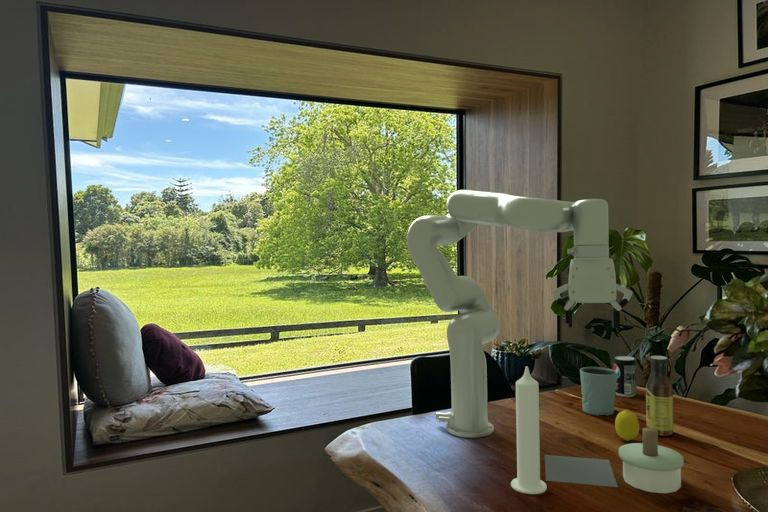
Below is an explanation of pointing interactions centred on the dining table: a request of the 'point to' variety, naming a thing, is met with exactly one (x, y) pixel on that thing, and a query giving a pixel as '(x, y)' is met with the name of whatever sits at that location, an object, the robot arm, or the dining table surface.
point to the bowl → (652, 479)
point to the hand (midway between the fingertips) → (592, 327)
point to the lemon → (627, 425)
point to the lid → (651, 454)
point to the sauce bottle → (659, 397)
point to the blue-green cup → (598, 390)
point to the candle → (528, 437)
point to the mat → (579, 470)
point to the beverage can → (625, 376)
